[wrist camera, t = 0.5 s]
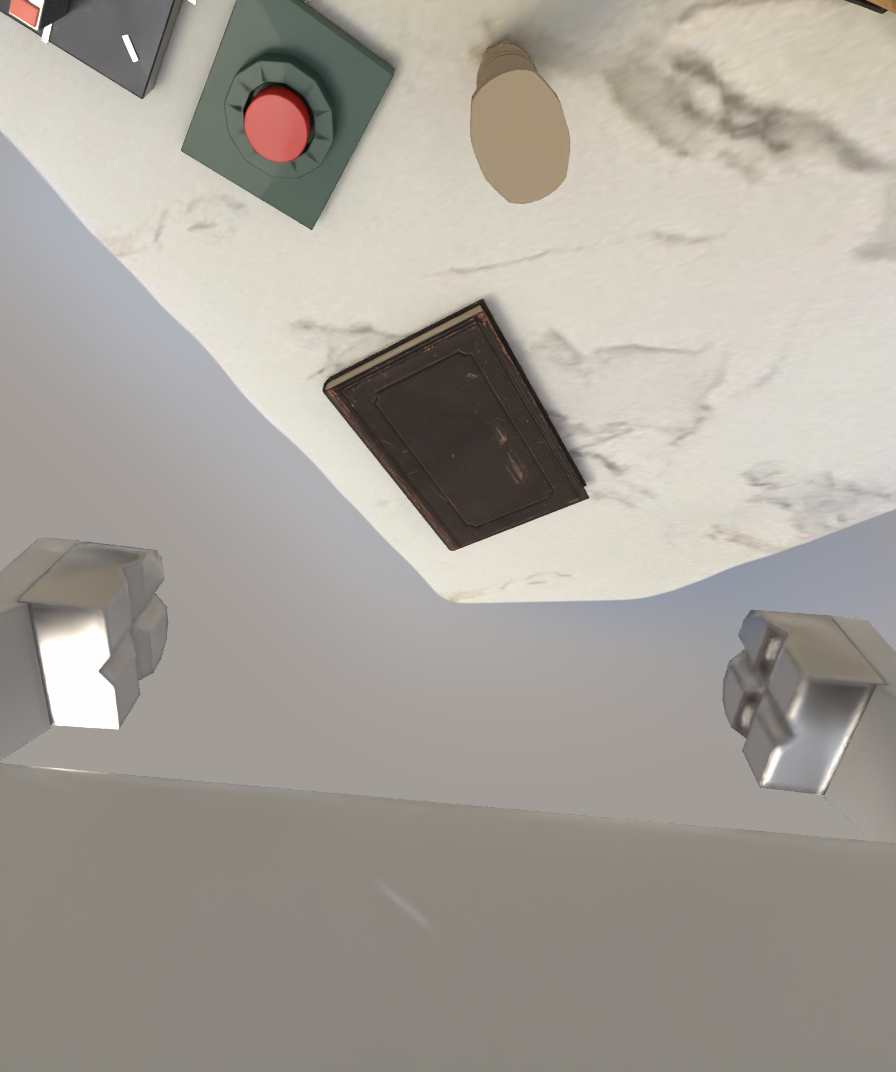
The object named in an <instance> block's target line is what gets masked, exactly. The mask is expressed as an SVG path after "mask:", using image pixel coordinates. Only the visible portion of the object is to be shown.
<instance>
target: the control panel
mask: <svg viewBox="0 0 896 1072" xmlns="http://www.w3.org/2000/svg"><path fill="white" fill-rule="evenodd" d="M10 1H11V0H0V11H1V12H3V13H4V14H6V15H7V16H9V17H11V18H12V19H14V20H15V21H17V22H19V23H20V24H22V25H24V26H25V27H27V28H28V29H30V30H32V31H33V32H35V33H36V34H38V35H40V36H41V37H42V41H44V42H45V43H47V44H48V42H51V43H53V44H54V45H56V46H57V47H59V48H61V49H62V50H64V51H65V52H67V53H69V54H70V55H72V56H73V57H75V58H77V59H78V60H80V61H82V62H83V63H85V64H86V65H88V66H90V67H91V68H93V69H94V70H96V71H98V72H99V73H101V74H102V75H104V76H106V77H107V78H109V79H111V80H112V81H114V82H115V83H117V84H119V85H120V86H122V87H123V88H125V89H127V90H128V91H130V92H132V93H133V94H135V95H136V96H138V97H140V98H141V99H143V98H144V97H145V96H146V95H147V94H148V93H149V92H150V91H151V90H152V89H153V88H154V85H155V82H156V79H157V76H158V73H159V70H160V67H161V64H162V61H163V58H164V55H165V52H166V49H167V46H168V43H169V39H170V36H171V33H172V30H173V27H174V24H175V21H176V18H177V15H178V12H179V9H180V6H181V3H182V0H70V3H69V7H68V11H67V15H66V16H65V17H63V18H61V19H59V20H57V21H56V22H54V23H52V24H50V25H49V26H47V27H45V28H43V29H41V30H40V31H36V30H34V29H33V28H31V27H29V26H28V25H26V24H25V23H23V22H21V21H20V20H18V19H17V18H15V17H13V16H12V15H10V14H9V13H8V11H9V6H10ZM188 1H190V2H191V3H193V4H194V5H195V4H196V1H197V0H188Z"/></svg>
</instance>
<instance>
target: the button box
mask: <svg viewBox="0 0 896 1072" xmlns="http://www.w3.org/2000/svg"><path fill="white" fill-rule="evenodd" d="M393 75H394V68H393V67H392V66H390V65H389V64H388V63H386V62H385V61H384V60H382V59H381V58H379V57H378V56H377V55H375V54H374V53H373V52H371V51H370V50H369V49H367V48H366V47H365V46H363V45H362V44H360V43H359V42H358V41H356V40H355V39H354V38H352V37H351V36H350V35H348V34H347V33H346V32H344V31H343V30H341V29H340V28H339V27H337V26H336V25H335V24H333V23H332V22H331V21H329V20H328V19H327V18H325V17H324V16H322V15H321V14H320V13H318V12H317V11H316V10H314V9H313V8H312V7H310V6H309V5H308V4H306V3H305V2H303V1H302V0H237V1H236V4H235V6H234V9H233V12H232V14H231V17H230V20H229V22H228V25H227V28H226V30H225V33H224V36H223V38H222V41H221V44H220V47H219V49H218V52H217V55H216V57H215V60H214V63H213V65H212V68H211V71H210V73H209V76H208V79H207V81H206V84H205V87H204V89H203V92H202V95H201V97H200V100H199V103H198V106H197V108H196V111H195V114H194V116H193V119H192V122H191V124H190V127H189V130H188V132H187V135H186V138H185V140H184V143H183V146H182V148H181V151H182V152H184V153H185V154H187V155H189V156H190V157H192V158H194V159H195V160H197V161H199V162H200V163H202V164H203V165H205V166H207V167H208V168H210V169H212V170H213V171H215V172H217V173H218V174H220V175H222V176H223V177H225V178H227V179H228V180H230V181H232V182H233V183H235V184H237V185H238V186H240V187H241V188H243V189H245V190H246V191H248V192H250V193H251V194H253V195H255V196H256V197H258V198H260V199H261V200H263V201H265V202H266V203H268V204H270V205H271V206H273V207H275V208H276V209H278V210H279V211H281V212H283V213H284V214H286V215H288V216H289V217H291V218H293V219H294V220H296V221H298V222H299V223H301V224H303V225H304V226H306V227H308V228H309V229H311V230H312V229H313V227H314V226H315V224H316V222H317V220H318V218H319V216H320V214H321V212H322V210H323V208H324V207H325V205H326V203H327V201H328V199H329V197H330V195H331V193H332V191H333V189H334V188H335V186H336V184H337V182H338V180H339V178H340V176H341V174H342V172H343V170H344V169H345V167H346V165H347V163H348V161H349V159H350V157H351V155H352V153H353V151H354V150H355V148H356V146H357V144H358V142H359V140H360V138H361V136H362V134H363V132H364V131H365V129H366V127H367V125H368V123H369V121H370V119H371V117H372V115H373V114H374V112H375V110H376V108H377V106H378V104H379V102H380V100H381V98H382V96H383V95H384V93H385V91H386V89H387V87H388V85H389V83H390V81H391V79H392V77H393ZM272 86H278V87H283V88H286V89H289V90H290V91H292V92H294V93H295V94H296V95H297V96H298V97H299V98H300V99H301V100H302V101H303V102H304V104H305V105H306V107H307V109H308V112H309V115H310V119H311V132H310V136H309V138H308V141H307V143H306V146H305V148H304V150H303V152H302V153H301V154H300V155H299V156H298V157H297V158H295V159H294V160H292V161H289V162H284V163H279V162H273V161H270V160H268V159H266V158H264V157H262V156H261V155H260V154H259V153H257V152H256V151H255V149H254V148H253V147H252V146H251V144H250V142H249V140H248V138H247V136H246V132H245V127H244V118H245V113H246V110H247V108H248V106H249V105H250V103H251V102H252V100H253V98H254V97H255V96H256V94H257V93H258V92H260V91H261V90H263V89H265V88H268V87H272Z"/></svg>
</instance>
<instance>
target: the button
mask: <svg viewBox="0 0 896 1072" xmlns="http://www.w3.org/2000/svg"><path fill="white" fill-rule="evenodd" d="M244 127H245V132H246V136H247V138H248V140H249V142H250V144H251V146H252V147H253V148H254V149H255V151H256V152H257V153H259V154H260V155H261V156H262V157H264V158H266V159H268V160H270V161H273V162H279V163H284V162H289V161H292V160H294V159H295V158H297V157H298V156H299V155H300V154H301V153H302V152H303V150H304V148H305V146H306V143H307V141H308V138H309V136H310V132H311V119H310V115H309V112H308V109H307V107H306V105H305V104H304V102H303V101H302V100H301V99H300V98H299V97H298V96H297V95H296V94H295V93H294V92H292V91H290V90H289V89H286V88H283V87H278V86H272V87H268V88H265V89H263V90H261V91H260V92H258V93H257V94H256V96H255V97H254V98H253V100H252V102H251V103H250V105H249V106H248V108H247V110H246V113H245V118H244Z"/></svg>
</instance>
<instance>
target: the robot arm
mask: <svg viewBox="0 0 896 1072" xmlns="http://www.w3.org/2000/svg"><path fill="white" fill-rule="evenodd" d="M163 580H164V571H163V563H162V557H161V556H160V555H159V553H158V552H157V550H152V549H151V550H150V549H143V548H134V547H126V546H117V545H109V544H100V543H92V542H81V541H79V540H67V539H54V538H41V539H37V540H36V541H35V542H34V543H33V544H31V545H30V546H29V547H28V548H27V549H26V550H25V551H24V552H22V553H21V554H20V555H19V556H18V557H17V558H16V559H14V560H13V561H12V562H11V563H10V564H9V565H8V566H7V567H6V568H4V569H3V570H2V571H1V572H0V761H1V760H3V759H4V758H6V757H7V756H9V755H10V754H12V753H13V752H15V751H16V750H18V749H20V748H21V747H23V746H24V745H25V744H27V743H29V742H30V741H32V740H33V739H35V738H36V737H38V736H39V735H41V734H43V733H44V732H46V731H47V730H48V729H50V728H51V726H50V725H63V726H78V727H95V728H111V729H120V727H121V725H122V724H123V722H124V720H125V719H126V717H127V716H128V714H129V712H130V710H131V709H132V707H133V706H134V704H135V702H136V701H137V699H138V697H139V696H140V688H139V680H141V679H143V678H145V677H146V676H148V675H150V674H152V673H153V672H154V671H155V669H156V667H157V665H158V664H159V662H160V660H161V658H162V654H163V651H164V647H165V643H166V640H167V629H168V616H167V606H166V605H165V604H164V603H163V602H162V600H161V599H160V598H159V597H158V596H157V594H156V593H155V592H156V590H157V589H158V588H159V586H160V585H161V583H162V582H163ZM738 636H739V638H740V640H741V642H742V644H743V646H744V650H743V651H741V652H740V653H739V654H738V655H736V656H735V657H734V658H733V659H731V660H730V661H729V663H728V667H727V670H726V673H725V677H724V680H723V705H724V709H725V714H726V716H727V718H728V721H729V723H730V725H731V727H732V728H733V729H735V730H736V731H737V732H738V733H740V734H741V735H742V736H744V737H745V738H746V742H745V744H744V747H743V750H742V751H743V753H744V755H745V757H746V759H747V761H748V763H749V766H750V768H751V770H752V772H753V774H754V776H755V778H756V780H757V782H758V784H759V787H760V788H769V789H777V790H785V791H794V792H802V793H810V794H819V795H824V799H825V800H826V801H828V802H829V803H830V804H831V805H832V806H833V807H834V808H835V809H836V810H837V811H838V812H839V813H841V814H842V815H843V816H844V817H845V818H846V819H847V820H848V821H849V822H851V823H852V824H853V825H854V826H855V827H856V828H857V829H858V830H859V831H861V833H862V834H864V835H865V836H866V837H867V838H868V839H869V840H870V841H866V840H854V839H843V838H831V837H821V836H808V835H798V834H786V833H776V832H764V831H753V830H742V829H730V828H719V827H708V826H696V825H685V824H674V823H662V822H652V821H641V820H629V819H618V818H607V817H595V816H584V815H573V814H561V813H550V812H539V811H528V810H517V809H506V808H495V807H483V806H472V805H460V804H450V803H439V802H438V803H437V802H427V801H416V800H405V799H393V798H383V797H372V796H371V797H370V796H360V795H349V794H338V793H327V792H315V791H304V790H293V789H282V788H271V787H259V786H248V785H237V784H226V783H215V782H203V781H192V780H181V779H170V778H159V777H158V778H157V777H148V776H136V775H125V774H114V773H103V772H91V771H80V770H69V769H57V768H47V767H36V766H23V765H13V764H2V763H0V1072H896V652H895V651H894V650H893V649H892V648H891V647H890V645H889V644H888V643H887V642H886V641H885V640H884V639H883V637H882V636H881V635H880V634H879V633H878V632H877V631H876V629H875V628H874V627H873V626H872V625H871V624H870V623H869V622H868V621H866V620H863V619H861V618H859V617H845V616H830V615H815V614H802V613H789V612H775V611H761V610H751V611H750V612H749V613H748V615H747V616H746V618H745V619H744V621H743V623H742V626H741V629H740V632H739V635H738Z"/></svg>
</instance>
